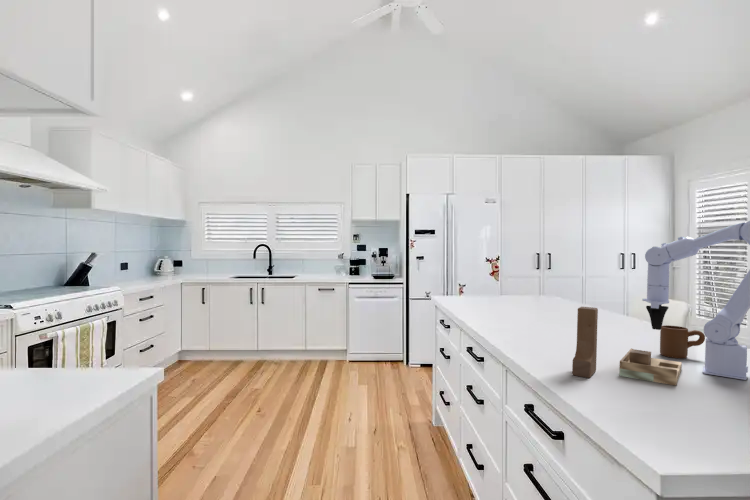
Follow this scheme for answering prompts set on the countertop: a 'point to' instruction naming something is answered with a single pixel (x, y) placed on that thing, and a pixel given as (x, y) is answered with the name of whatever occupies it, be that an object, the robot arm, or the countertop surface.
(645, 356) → the walnut block
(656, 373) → the platform
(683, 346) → the mug
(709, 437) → the countertop surface
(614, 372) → the countertop surface
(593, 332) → the wooden block
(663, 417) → the countertop surface
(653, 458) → the countertop surface
